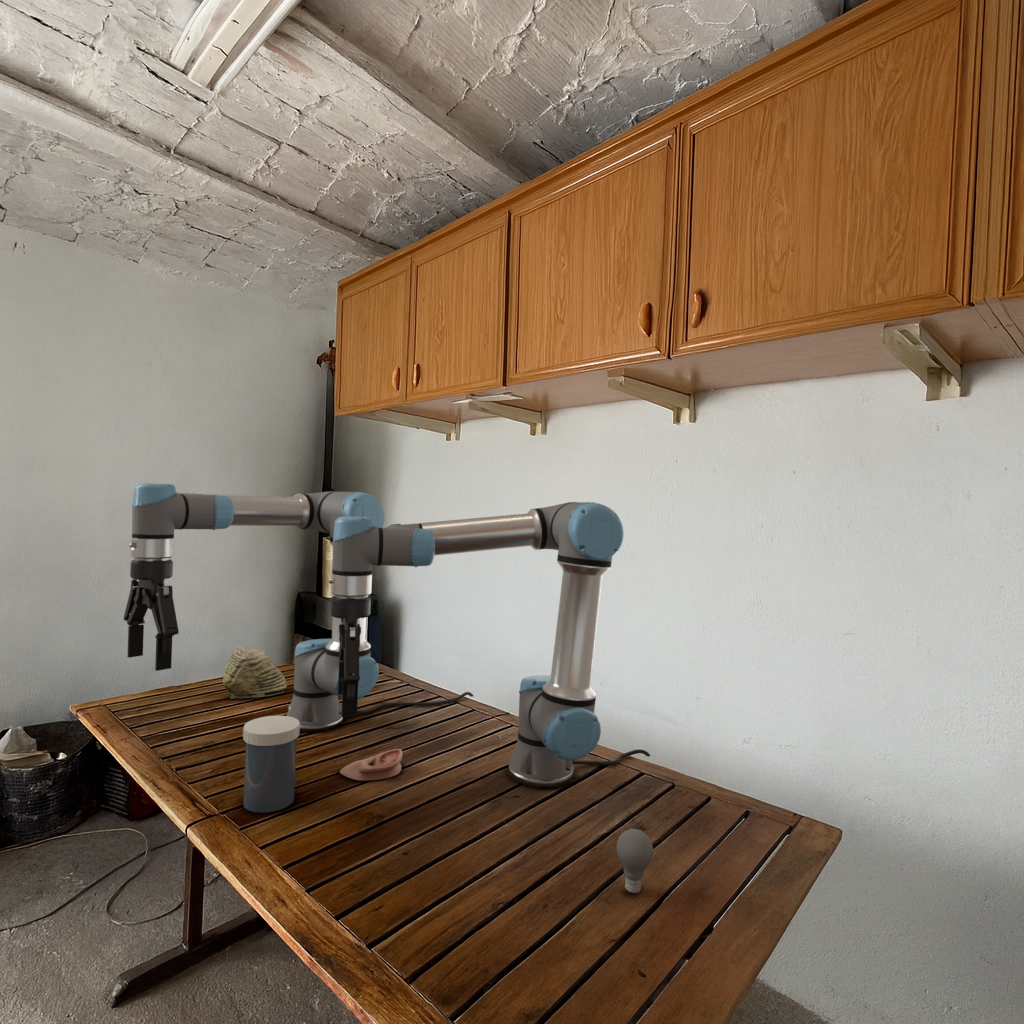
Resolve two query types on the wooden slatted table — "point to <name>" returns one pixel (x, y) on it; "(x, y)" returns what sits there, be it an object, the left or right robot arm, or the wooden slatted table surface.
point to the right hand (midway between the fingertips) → (346, 704)
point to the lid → (271, 730)
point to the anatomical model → (375, 766)
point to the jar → (269, 776)
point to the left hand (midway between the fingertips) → (148, 662)
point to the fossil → (252, 674)
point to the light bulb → (634, 857)
